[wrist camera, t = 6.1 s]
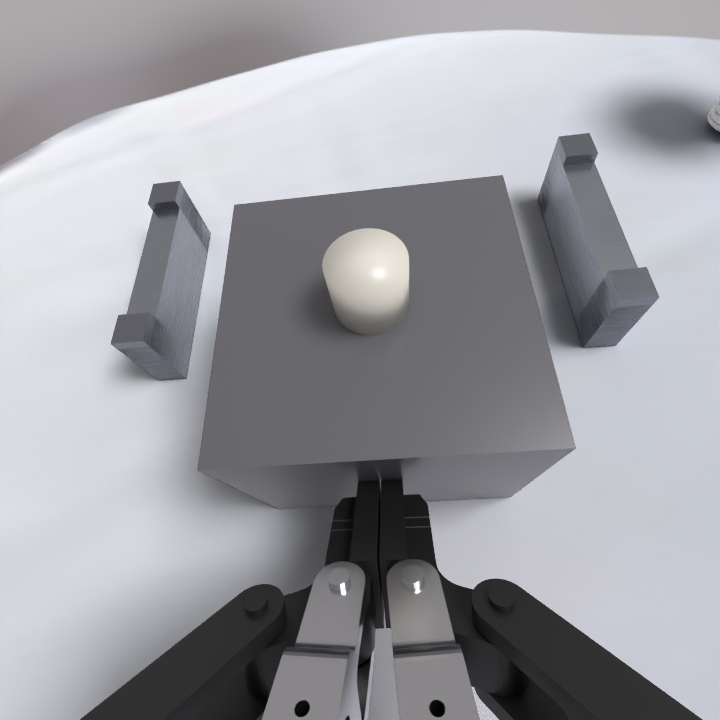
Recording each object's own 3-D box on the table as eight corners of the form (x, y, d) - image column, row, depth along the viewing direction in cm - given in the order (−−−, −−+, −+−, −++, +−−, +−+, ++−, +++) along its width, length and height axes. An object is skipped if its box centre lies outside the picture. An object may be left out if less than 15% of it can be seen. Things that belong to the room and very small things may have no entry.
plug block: (278, 509, 19) (158, 452, 10) (288, 317, 23) (212, 159, 14) (510, 497, 18) (608, 423, 9) (473, 301, 22) (514, 123, 14)
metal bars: (158, 380, 22) (110, 343, 19) (187, 235, 27) (153, 184, 23) (615, 345, 20) (659, 297, 17) (564, 195, 25) (589, 133, 21)
